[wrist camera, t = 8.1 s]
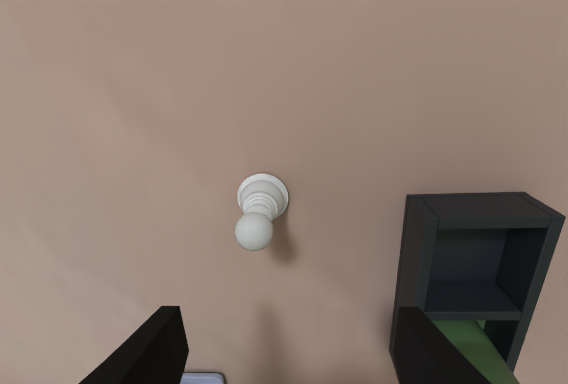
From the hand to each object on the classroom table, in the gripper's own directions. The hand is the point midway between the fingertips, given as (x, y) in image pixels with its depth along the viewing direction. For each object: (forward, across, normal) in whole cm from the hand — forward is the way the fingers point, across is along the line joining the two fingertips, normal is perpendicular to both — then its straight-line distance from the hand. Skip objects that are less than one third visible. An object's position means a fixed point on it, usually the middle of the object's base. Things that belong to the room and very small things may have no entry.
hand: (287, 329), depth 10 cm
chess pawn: (+8, +2, -1) cm, 9 cm away
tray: (+8, -9, +5) cm, 13 cm away
